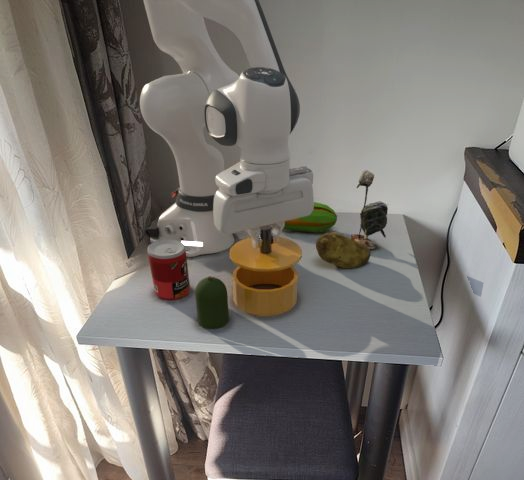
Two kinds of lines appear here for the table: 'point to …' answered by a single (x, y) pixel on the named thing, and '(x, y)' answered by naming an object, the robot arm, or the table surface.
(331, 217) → the corn
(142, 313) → the table surface
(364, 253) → the potato
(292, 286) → the pot
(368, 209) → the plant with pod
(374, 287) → the table surface
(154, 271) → the canned food
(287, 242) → the lid
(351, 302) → the table surface
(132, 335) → the table surface
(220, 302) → the avocado
